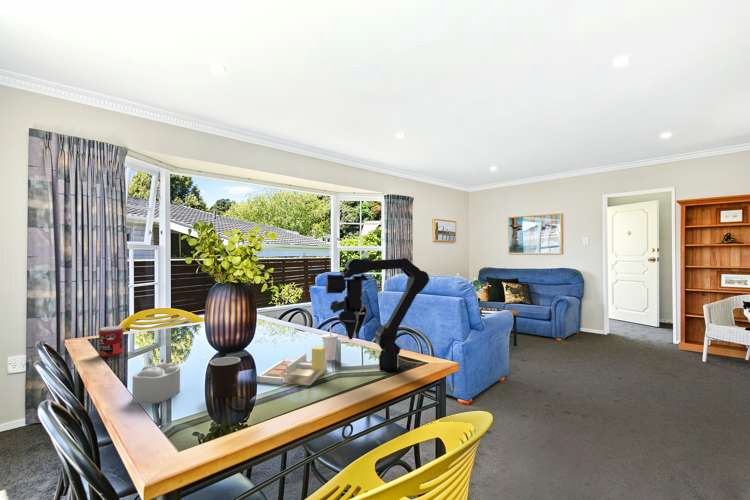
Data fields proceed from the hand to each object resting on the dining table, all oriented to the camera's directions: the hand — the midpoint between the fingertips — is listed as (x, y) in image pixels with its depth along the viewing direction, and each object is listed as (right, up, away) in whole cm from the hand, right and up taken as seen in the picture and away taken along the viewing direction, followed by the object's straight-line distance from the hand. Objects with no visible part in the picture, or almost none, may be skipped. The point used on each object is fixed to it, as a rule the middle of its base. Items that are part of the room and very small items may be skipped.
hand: (354, 336), depth 132 cm
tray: (-25, -12, -4) cm, 28 cm away
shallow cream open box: (-16, -12, -6) cm, 21 cm away
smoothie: (-10, -13, +14) cm, 21 cm away
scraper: (-15, -9, -6) cm, 19 cm away
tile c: (-26, -10, -9) cm, 29 cm away
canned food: (-101, -12, +19) cm, 104 cm away
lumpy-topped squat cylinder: (-57, -12, -22) cm, 63 cm away
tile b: (-25, -10, -4) cm, 27 cm away
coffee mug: (-37, -12, -21) cm, 44 cm away
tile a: (-24, -10, +1) cm, 26 cm away
